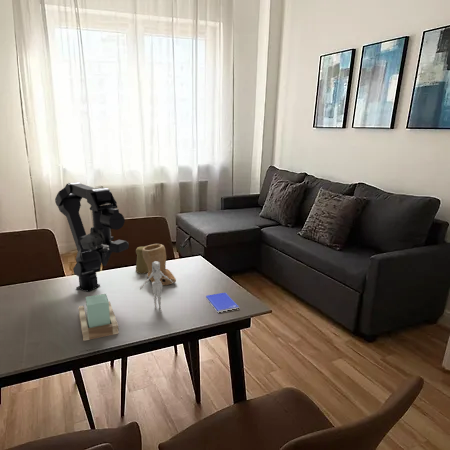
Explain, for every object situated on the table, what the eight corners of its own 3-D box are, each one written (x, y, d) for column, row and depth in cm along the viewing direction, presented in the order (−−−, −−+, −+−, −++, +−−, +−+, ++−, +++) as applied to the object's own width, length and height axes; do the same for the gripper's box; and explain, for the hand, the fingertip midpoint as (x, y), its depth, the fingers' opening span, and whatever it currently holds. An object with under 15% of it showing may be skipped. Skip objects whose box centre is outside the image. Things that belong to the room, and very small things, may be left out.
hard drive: (239, 306, 130) (225, 292, 141) (217, 310, 127) (205, 295, 138) (239, 310, 131) (225, 296, 142) (217, 314, 128) (205, 299, 139)
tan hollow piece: (141, 275, 158) (140, 241, 155) (168, 271, 163) (168, 239, 159) (147, 289, 145) (145, 253, 141) (176, 285, 149) (176, 250, 145)
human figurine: (142, 317, 124) (140, 267, 119) (139, 312, 127) (137, 263, 122) (175, 308, 130) (174, 260, 125) (171, 304, 133) (170, 257, 128)
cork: (152, 269, 165) (151, 246, 162) (145, 274, 159) (144, 250, 156) (140, 267, 167) (139, 244, 164) (132, 272, 161) (131, 248, 158)
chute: (79, 317, 122) (78, 306, 121) (110, 311, 127) (109, 301, 126) (83, 344, 108) (82, 332, 107) (118, 336, 112) (118, 325, 111)
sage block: (88, 326, 115) (85, 296, 112) (107, 322, 118) (105, 293, 115) (89, 335, 110) (87, 305, 107) (110, 331, 112) (108, 301, 110)
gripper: (63, 225, 126) (67, 268, 130) (106, 233, 118) (109, 278, 122) (88, 218, 135) (91, 258, 139) (128, 225, 128) (130, 267, 132)
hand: (104, 265), depth 133 cm, fingers closed
